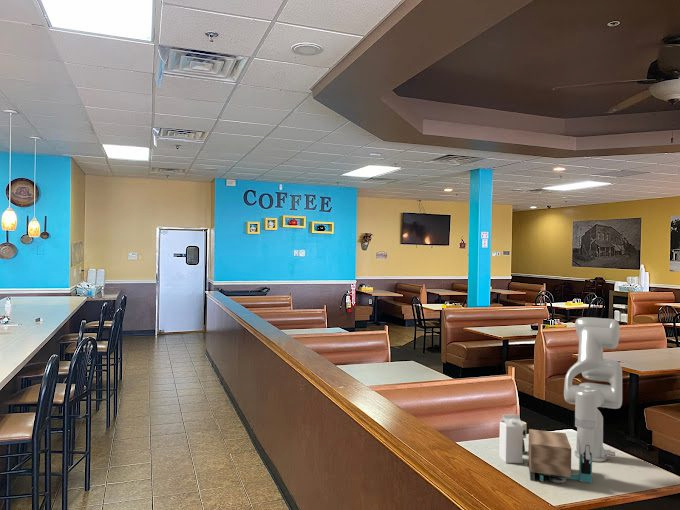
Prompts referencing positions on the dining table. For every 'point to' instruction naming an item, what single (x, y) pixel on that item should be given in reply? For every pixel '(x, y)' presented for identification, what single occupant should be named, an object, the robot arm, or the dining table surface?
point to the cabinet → (549, 453)
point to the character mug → (524, 434)
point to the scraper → (575, 476)
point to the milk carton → (511, 439)
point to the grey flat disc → (557, 479)
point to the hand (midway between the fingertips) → (585, 471)
